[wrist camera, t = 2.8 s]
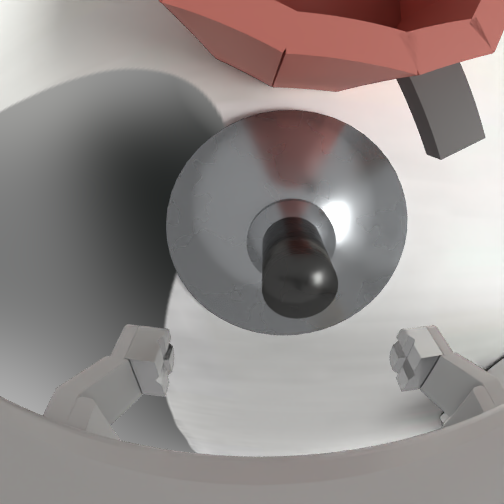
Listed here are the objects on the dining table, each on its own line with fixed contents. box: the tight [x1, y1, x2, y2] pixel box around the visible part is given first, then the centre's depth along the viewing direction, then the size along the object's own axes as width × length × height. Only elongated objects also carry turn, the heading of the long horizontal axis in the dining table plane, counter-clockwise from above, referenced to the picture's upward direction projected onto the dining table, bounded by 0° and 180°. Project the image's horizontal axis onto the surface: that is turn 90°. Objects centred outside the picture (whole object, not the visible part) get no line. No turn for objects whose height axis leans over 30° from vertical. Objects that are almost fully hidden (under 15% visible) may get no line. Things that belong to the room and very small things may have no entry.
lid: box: [166, 110, 407, 335], centre depth 15 cm, size 15×15×6 cm
